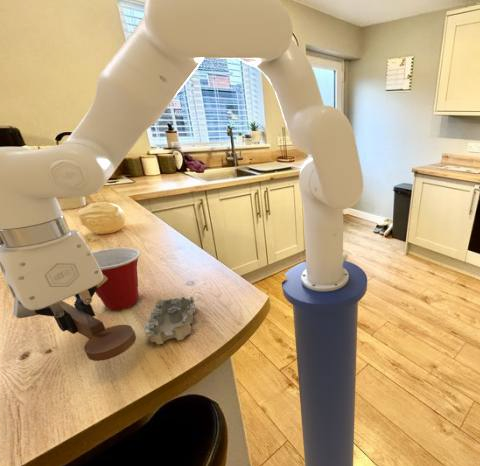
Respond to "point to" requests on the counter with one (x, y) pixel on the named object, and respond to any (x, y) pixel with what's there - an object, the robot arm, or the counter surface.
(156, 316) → the crystal geode chunk
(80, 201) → the reusable coffee cup
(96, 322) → the spoon
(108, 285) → the plastic cup
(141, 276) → the counter surface
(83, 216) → the cream rounded lump
